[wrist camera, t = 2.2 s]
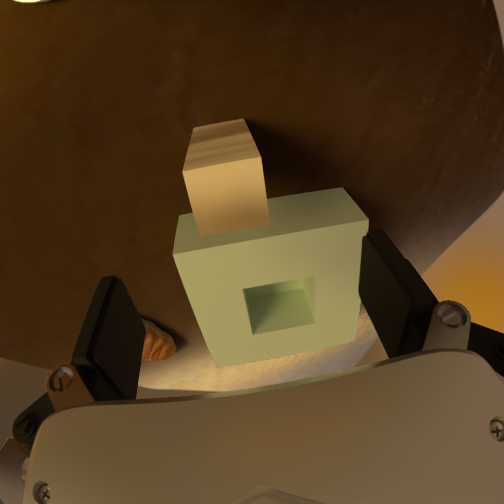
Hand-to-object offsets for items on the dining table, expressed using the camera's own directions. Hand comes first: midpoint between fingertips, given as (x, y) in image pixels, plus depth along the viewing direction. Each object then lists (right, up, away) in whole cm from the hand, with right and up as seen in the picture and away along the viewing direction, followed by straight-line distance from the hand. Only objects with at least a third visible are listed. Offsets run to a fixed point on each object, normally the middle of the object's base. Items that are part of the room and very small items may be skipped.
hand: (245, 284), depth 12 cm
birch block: (-2, +10, +13) cm, 16 cm away
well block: (+2, 0, +21) cm, 21 cm away
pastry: (-14, -8, +25) cm, 29 cm away
